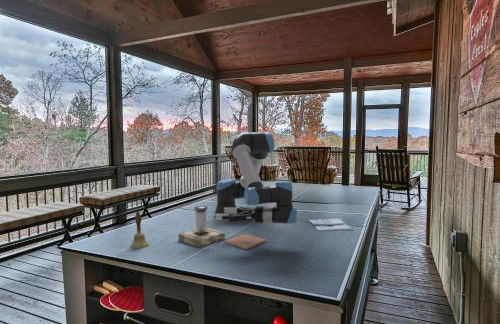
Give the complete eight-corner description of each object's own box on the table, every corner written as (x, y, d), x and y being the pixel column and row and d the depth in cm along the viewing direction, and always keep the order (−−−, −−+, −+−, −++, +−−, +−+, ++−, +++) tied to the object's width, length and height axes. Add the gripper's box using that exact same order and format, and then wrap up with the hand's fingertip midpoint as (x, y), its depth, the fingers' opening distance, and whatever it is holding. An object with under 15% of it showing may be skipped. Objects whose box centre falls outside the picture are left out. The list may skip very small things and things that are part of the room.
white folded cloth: (340, 221, 178) (340, 217, 178) (353, 231, 158) (353, 227, 158) (308, 222, 178) (308, 218, 177) (317, 232, 157) (317, 228, 157)
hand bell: (129, 249, 136) (127, 214, 135) (131, 243, 144) (129, 210, 143) (148, 247, 138) (147, 213, 137) (149, 241, 146) (148, 209, 145)
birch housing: (203, 232, 159) (203, 226, 159) (224, 238, 149) (224, 232, 149) (178, 240, 148) (178, 234, 147) (199, 247, 137) (199, 240, 137)
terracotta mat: (244, 235, 152) (244, 233, 152) (266, 241, 143) (266, 239, 143) (224, 243, 142) (224, 241, 142) (246, 249, 133) (246, 247, 132)
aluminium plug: (202, 236, 153) (201, 205, 152) (211, 238, 148) (210, 206, 147) (192, 239, 148) (191, 207, 147) (200, 242, 144) (199, 209, 143)
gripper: (259, 229, 129) (212, 228, 133) (267, 216, 153) (227, 215, 157) (259, 212, 128) (211, 211, 133) (267, 201, 153) (227, 200, 157)
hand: (220, 213), depth 145 cm, fingers open, 13 cm apart
